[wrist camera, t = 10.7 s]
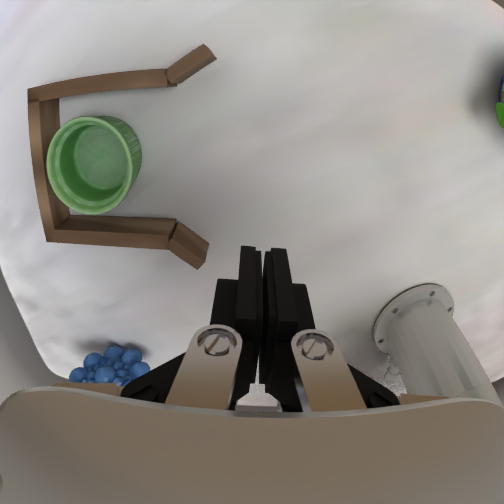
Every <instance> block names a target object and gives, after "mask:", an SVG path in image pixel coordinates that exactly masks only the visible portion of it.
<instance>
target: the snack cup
mask: <svg viewBox="0 0 504 504" xmlns="http://www.w3.org/2000/svg"><path fill="white" fill-rule="evenodd" d="M496 112H497V118H498V121H499V123H500V125H501V126H502V127H503V128H504V77H503V83H502V86H501V90H500V102H497V104H496Z"/></svg>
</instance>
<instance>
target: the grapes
mask: <svg viewBox="0 0 504 504" xmlns="http://www.w3.org/2000/svg"><path fill="white" fill-rule="evenodd" d="M141 361H142V354H141V352H140V351H139V350H136V349H129V350H126V351H125V352H124V351H123V349H122V348H121V347H119V346H111V347H108V348H107V349H106V351H105V353H104V354H103V356H102V355H101V354H99V353H91V354H89V355H87V356H86V358H85V360H84V367H78V368H75V369H74V370H73V371H72V372H71V374H70V376H69V381H70V382H75V383H117V385H118V386H125V385H126V384H128V383H129V382H130V381H132V380H134V379H136V378H138V377H140V376H142V375H143V374H145V373H147V372H149V371H150V367H149V365H148V364H147V363H145V362H141Z"/></svg>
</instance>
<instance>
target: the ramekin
mask: <svg viewBox="0 0 504 504" xmlns="http://www.w3.org/2000/svg"><path fill="white" fill-rule="evenodd" d="M140 165H141V148H140V144H139V141H138V139H137V136H136V135H135V133H134V132H133V130H132V129H131V128H130V127H129V126H128V125H127V124H126V123H125V122H123V121H121V120H120V119H117V118H114V117H109V116H98V117H91V116H86V117H79V118H75V119H73V120H70V121H69V122H67V123H66V124H64V125H63V126H62V127H61V128H60V129H59V130H58V131H57V132H56V134H55V135H54V137H53V139H52V141H51V143H50V146H49V149H48V153H47V174H48V178H49V181H50V184H51V186H52V188H53V190H54V192H55V194H56V195H57V196H58V198H59V199H60V200H61V201H62V202H63V203H64V204H65V205H66V206H68V207H69V208H71V209H73V210H75V211H77V212H79V213H83V214H88V215H97V214H102V213H106V212H108V211H110V210H112V209H113V208H115V207H116V206H117V205H119V204H120V203H121V201H122V200H123V199H124V198H125V196H126V194H127V193H128V191H129V189H130V186H131V184H132V183H133V182H134V180H135V178H136V177H137V175H138V172H139V169H140Z"/></svg>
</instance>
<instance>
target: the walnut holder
mask: <svg viewBox="0 0 504 504" xmlns="http://www.w3.org/2000/svg"><path fill="white" fill-rule="evenodd" d="M216 59H217V58H216V57H215V56H214V54H213V53H212V52H211V50H210V49H209V48H208V47H207V46H206V45H204V44H202V45H201V46H199V47H198V48H196V49H195V50H193V51H192V52H190V53H189V54H187V55H186V56H184V57H183V58H181V59H180V60H179V61H177V62H176V63H174V64H173V65H172V66H170V67H169V68H167V69H151V70H138V71H127V72H117V73H109V74H101V75H94V76H88V77H82V78H76V79H70V80H65V81H60V82H55V83H50V84H46V85H42V86H37V87H33V88H29V89H28V121H29V136H30V147H31V156H32V165H33V172H34V179H35V186H36V192H37V198H38V203H39V209H40V214H41V219H42V223H43V228H44V232H45V236H46V241H47V242H57V243H72V244H87V245H102V246H118V247H133V248H149V249H164V250H170V251H171V252H172V253H174V254H175V255H177V256H178V257H180V258H181V259H182V260H184V261H185V262H187V263H188V264H190V265H191V266H192V267H194V268H195V269H197V270H198V269H199V268H200V267H201V266H202V265H203V263H204V262H205V259H206V255H207V250H208V246H209V243H208V242H206V241H205V240H204V239H202V238H201V237H199V236H198V235H197V234H195V233H194V232H193V231H191V230H190V229H189V228H187V227H186V226H184V225H183V224H182V223H180V222H179V223H178V224H177V225H176V219H165V218H142V217H115V216H83V215H70V213H69V207H68V206H66V205H65V204H64V203H63V202H62V201H61V200H60V199H59V198H58V196H57V195H56V194H55V192H54V190H53V188H52V186H51V184H50V181H49V178H48V174H47V153H48V149H49V146H50V143H51V141H52V139H53V137H54V135H55V134H56V132H57V131H58V130H59V129H60V120H59V98H61V97H67V96H73V95H79V94H86V93H94V92H102V91H111V90H121V89H134V88H149V87H172V86H177V83H182V82H183V81H185V80H186V79H187V78H189V77H190V76H192V75H193V74H195V73H196V72H198V71H199V70H201V69H202V68H204V67H205V66H207V65H208V64H210V63H211V62H213V61H214V60H216Z"/></svg>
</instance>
